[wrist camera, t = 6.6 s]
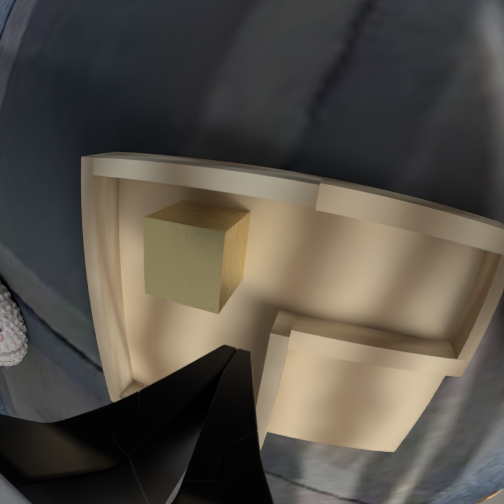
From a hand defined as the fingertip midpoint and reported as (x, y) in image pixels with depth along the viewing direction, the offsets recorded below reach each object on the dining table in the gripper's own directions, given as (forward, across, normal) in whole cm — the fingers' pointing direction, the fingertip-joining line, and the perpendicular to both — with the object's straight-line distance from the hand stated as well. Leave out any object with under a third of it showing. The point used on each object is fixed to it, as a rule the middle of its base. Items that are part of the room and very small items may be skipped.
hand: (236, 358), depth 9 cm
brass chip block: (+9, +4, 0) cm, 10 cm away
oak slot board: (+10, 0, +5) cm, 11 cm away
